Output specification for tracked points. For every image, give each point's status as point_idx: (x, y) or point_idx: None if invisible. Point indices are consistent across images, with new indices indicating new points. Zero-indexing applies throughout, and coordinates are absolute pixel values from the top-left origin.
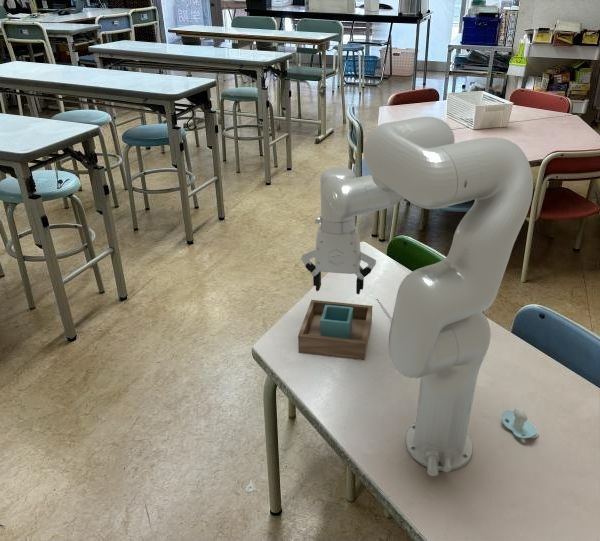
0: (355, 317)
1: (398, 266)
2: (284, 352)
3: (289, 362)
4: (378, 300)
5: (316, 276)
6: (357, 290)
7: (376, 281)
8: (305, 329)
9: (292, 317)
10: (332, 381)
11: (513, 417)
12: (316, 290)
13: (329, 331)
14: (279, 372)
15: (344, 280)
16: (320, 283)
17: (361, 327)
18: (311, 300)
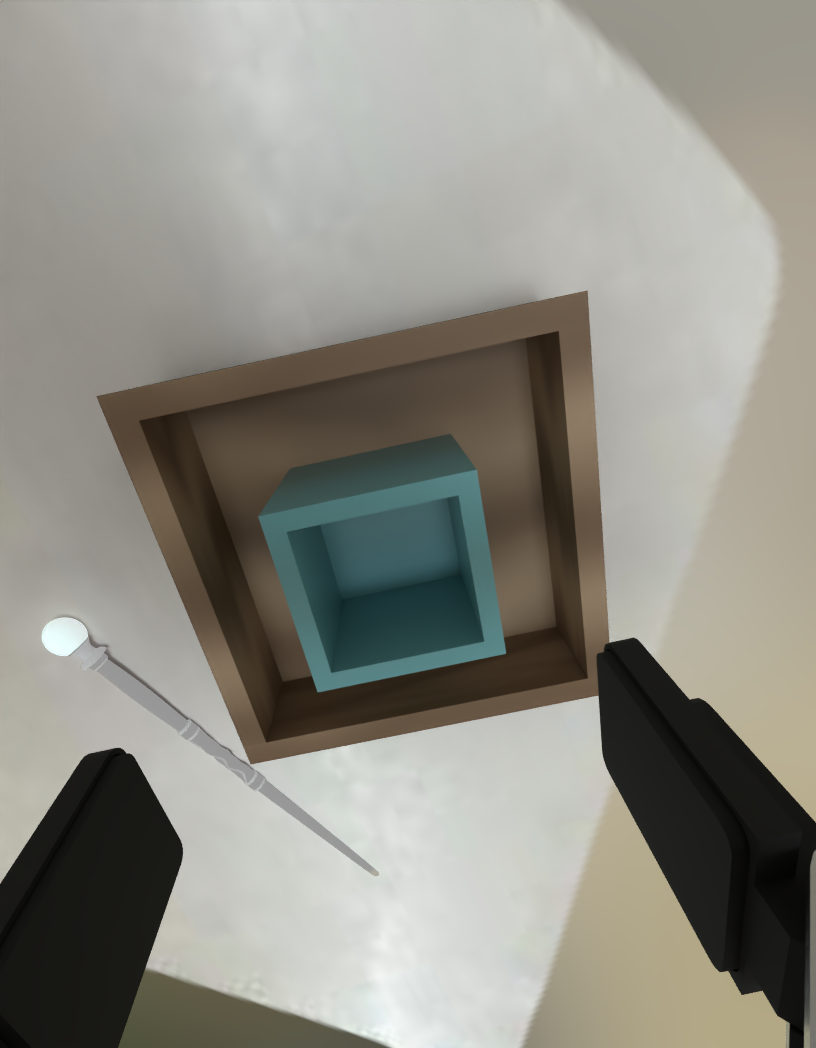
0: None
1: (328, 1023)
2: (620, 268)
3: (563, 181)
4: (308, 827)
5: (782, 845)
6: (77, 794)
7: (373, 926)
8: (559, 410)
9: (660, 579)
10: (241, 96)
11: None
12: (628, 640)
13: (403, 462)
14: (594, 43)
15: (505, 890)
16: (620, 766)
17: (287, 621)
18: None
